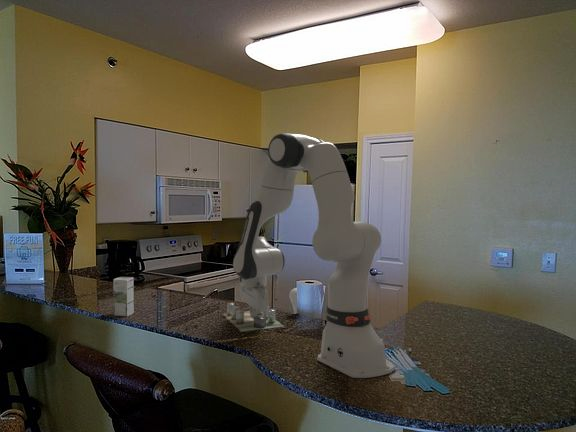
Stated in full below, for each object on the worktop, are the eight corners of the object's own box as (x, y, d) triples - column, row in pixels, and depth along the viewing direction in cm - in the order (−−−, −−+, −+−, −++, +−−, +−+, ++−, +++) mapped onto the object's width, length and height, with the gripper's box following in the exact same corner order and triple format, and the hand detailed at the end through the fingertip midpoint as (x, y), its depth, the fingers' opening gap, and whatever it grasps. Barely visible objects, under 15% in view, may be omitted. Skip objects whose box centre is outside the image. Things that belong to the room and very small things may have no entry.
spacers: (276, 323, 149) (276, 310, 149) (240, 327, 143) (240, 314, 143) (259, 311, 165) (259, 299, 165) (226, 314, 159) (226, 303, 159)
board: (284, 328, 145) (284, 326, 145) (241, 333, 139) (241, 331, 139) (260, 311, 167) (260, 309, 167) (222, 315, 160) (222, 313, 160)
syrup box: (134, 313, 163) (134, 276, 163) (127, 317, 157) (126, 279, 157) (120, 312, 164) (120, 276, 163) (112, 316, 158) (112, 279, 158)
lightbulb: (298, 318, 157) (298, 290, 157) (285, 316, 161) (286, 288, 161) (307, 315, 162) (307, 287, 162) (295, 312, 166) (295, 285, 165)
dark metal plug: (267, 327, 144) (267, 318, 144) (256, 328, 142) (256, 320, 142) (263, 323, 148) (263, 315, 148) (251, 325, 146) (251, 316, 146)
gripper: (272, 285, 142) (272, 324, 142) (253, 275, 160) (252, 310, 161) (255, 286, 139) (255, 327, 140) (237, 276, 158) (237, 311, 158)
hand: (253, 318), depth 150 cm, fingers closed
